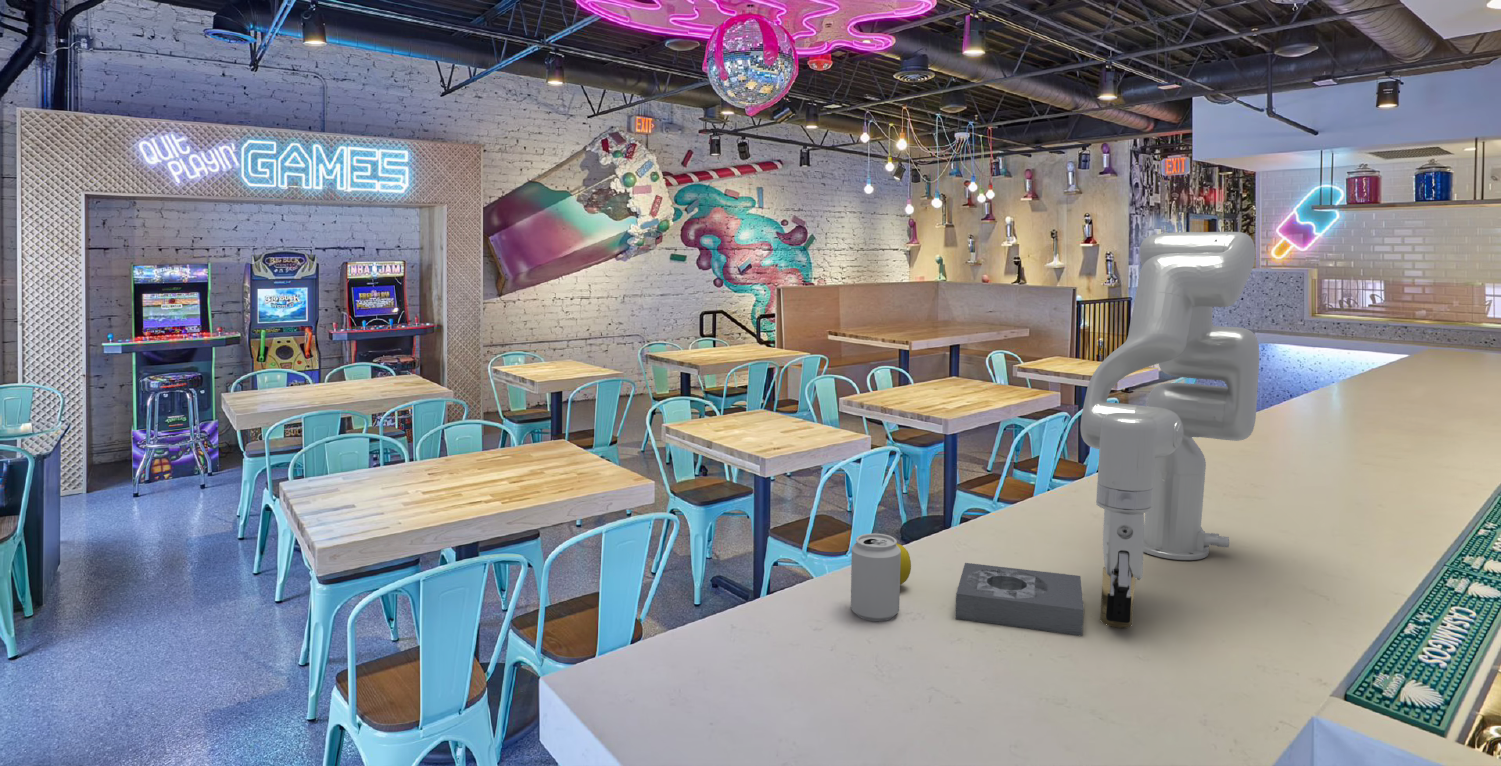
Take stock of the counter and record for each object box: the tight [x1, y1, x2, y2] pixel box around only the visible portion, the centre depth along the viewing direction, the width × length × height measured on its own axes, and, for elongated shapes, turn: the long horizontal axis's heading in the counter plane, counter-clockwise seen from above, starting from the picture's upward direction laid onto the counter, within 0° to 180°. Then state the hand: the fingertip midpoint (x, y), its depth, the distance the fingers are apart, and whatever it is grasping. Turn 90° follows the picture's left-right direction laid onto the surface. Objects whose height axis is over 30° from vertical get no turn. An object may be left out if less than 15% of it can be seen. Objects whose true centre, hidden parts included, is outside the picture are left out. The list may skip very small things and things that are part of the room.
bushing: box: [1099, 566, 1136, 628], centre depth 127 cm, size 4×4×8 cm
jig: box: [954, 562, 1084, 637], centre depth 132 cm, size 18×14×4 cm
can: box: [850, 533, 901, 622], centre depth 130 cm, size 8×8×12 cm
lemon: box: [896, 542, 912, 586], centre depth 140 cm, size 6×6×8 cm
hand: (1116, 612), depth 127 cm, fingers closed on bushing, 4 cm apart
